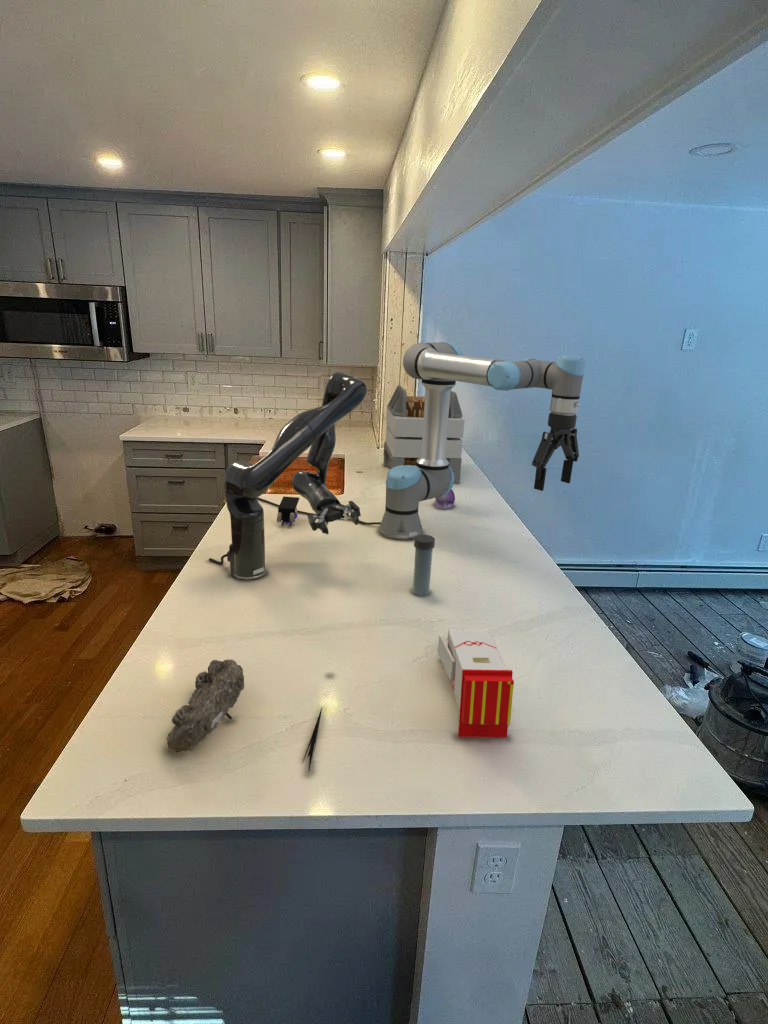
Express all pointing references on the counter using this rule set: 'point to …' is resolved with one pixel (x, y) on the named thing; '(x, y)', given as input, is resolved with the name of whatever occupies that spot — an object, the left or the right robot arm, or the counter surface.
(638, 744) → the counter surface
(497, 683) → the toy
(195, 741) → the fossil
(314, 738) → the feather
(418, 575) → the grey cylinder
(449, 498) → the figurine
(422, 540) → the lid
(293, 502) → the figurine character
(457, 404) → the grey slatted wooden crate
